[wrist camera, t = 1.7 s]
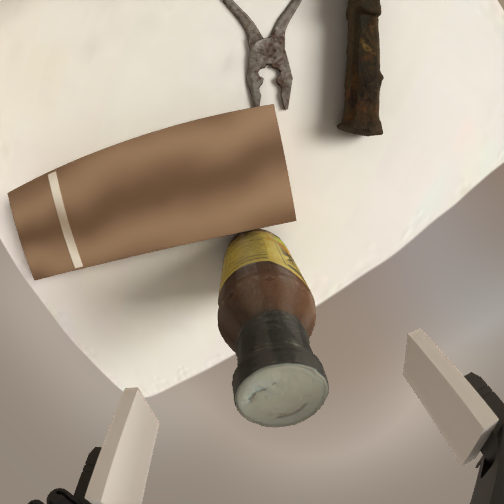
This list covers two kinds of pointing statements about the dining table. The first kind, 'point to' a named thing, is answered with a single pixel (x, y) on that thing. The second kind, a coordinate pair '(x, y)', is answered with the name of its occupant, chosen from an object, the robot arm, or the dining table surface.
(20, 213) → the walnut plank
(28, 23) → the dining table surface
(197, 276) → the dining table surface
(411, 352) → the robot arm
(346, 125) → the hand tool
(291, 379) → the sauce bottle
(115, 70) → the dining table surface
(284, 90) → the pliers
